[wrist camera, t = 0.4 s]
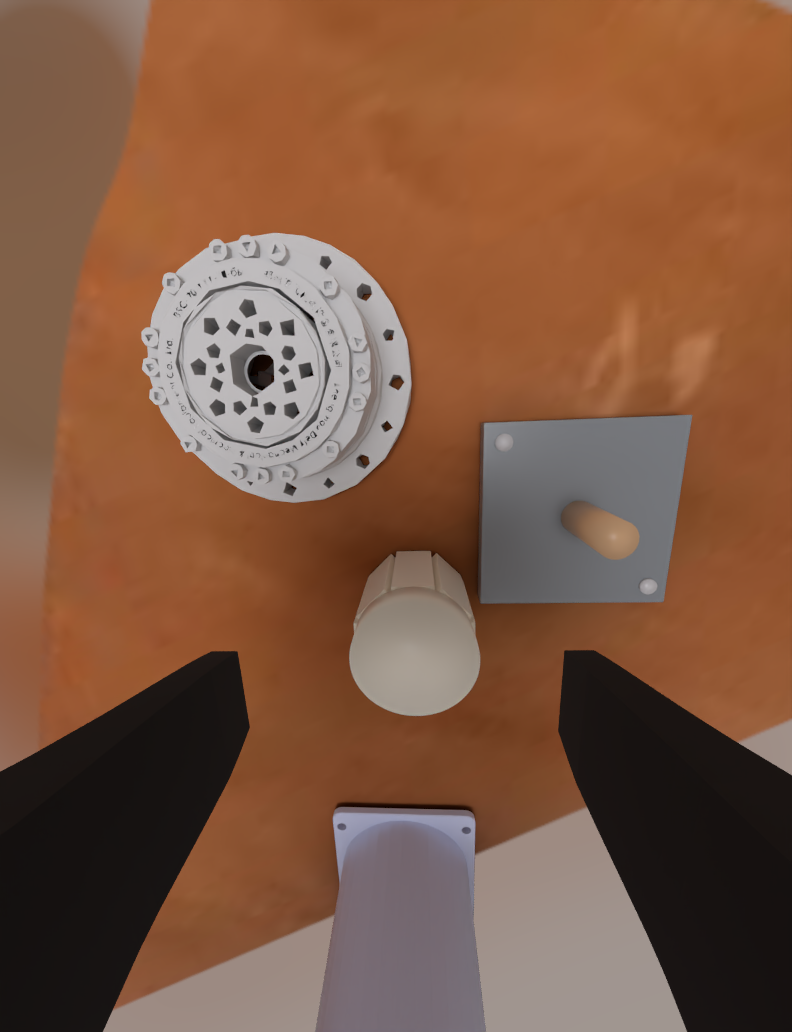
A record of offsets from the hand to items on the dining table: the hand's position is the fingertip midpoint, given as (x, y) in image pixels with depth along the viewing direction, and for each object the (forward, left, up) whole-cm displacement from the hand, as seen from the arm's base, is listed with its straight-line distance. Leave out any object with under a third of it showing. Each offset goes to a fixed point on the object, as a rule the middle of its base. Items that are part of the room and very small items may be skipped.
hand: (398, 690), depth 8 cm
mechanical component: (+8, +5, -10) cm, 13 cm away
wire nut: (-2, 0, -9) cm, 10 cm away
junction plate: (+2, -7, -9) cm, 12 cm away
